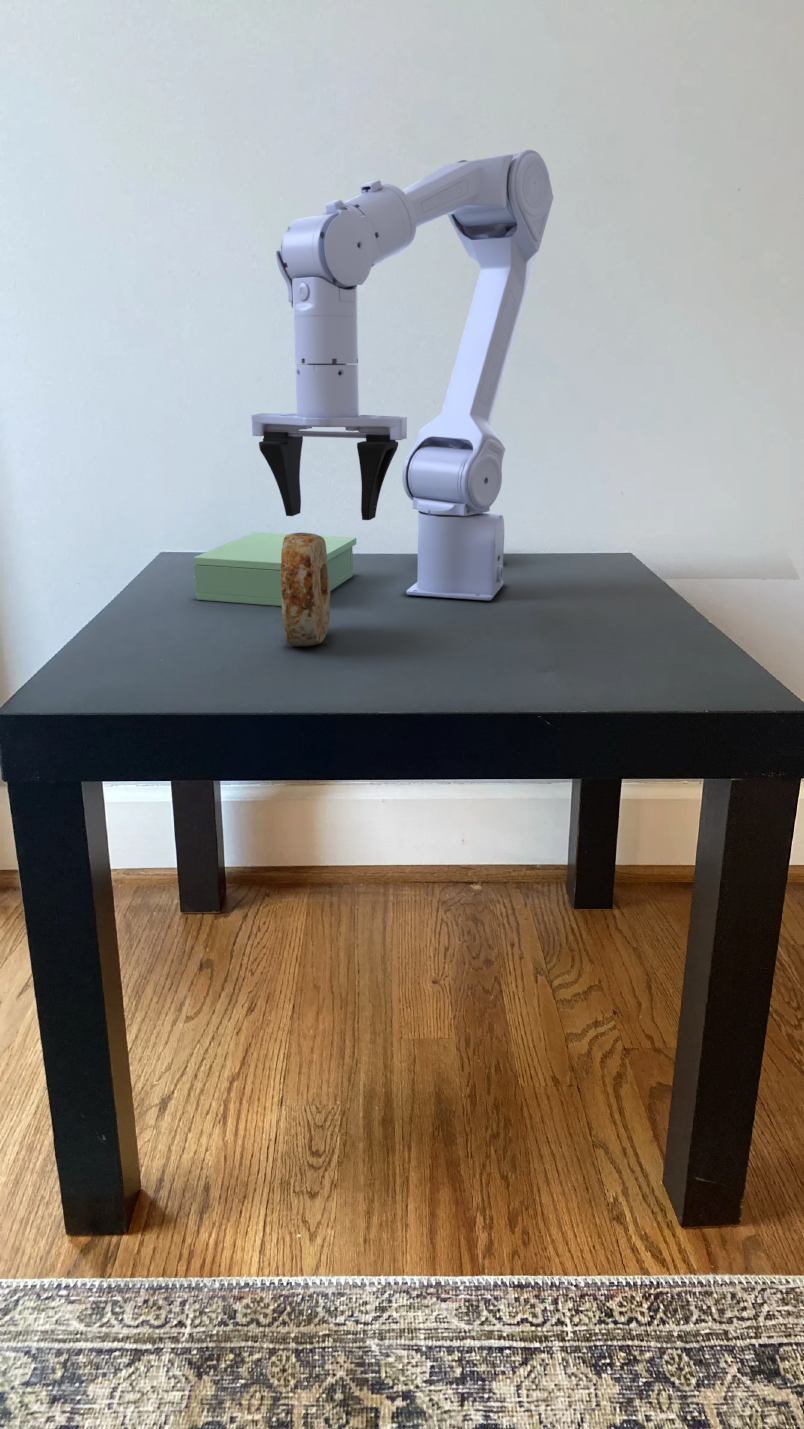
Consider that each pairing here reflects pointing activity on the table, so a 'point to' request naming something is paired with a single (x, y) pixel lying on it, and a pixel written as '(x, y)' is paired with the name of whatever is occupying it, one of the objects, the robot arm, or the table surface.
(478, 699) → the table surface
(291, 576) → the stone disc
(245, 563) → the lunchbox lid
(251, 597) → the box
